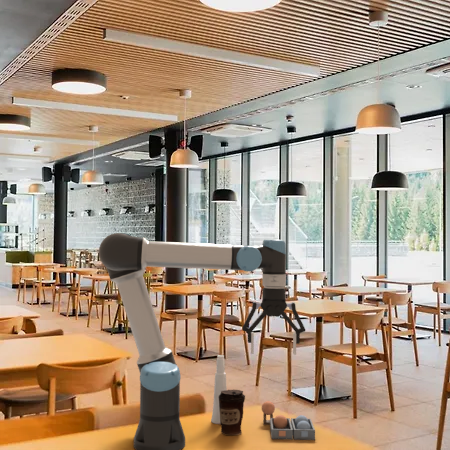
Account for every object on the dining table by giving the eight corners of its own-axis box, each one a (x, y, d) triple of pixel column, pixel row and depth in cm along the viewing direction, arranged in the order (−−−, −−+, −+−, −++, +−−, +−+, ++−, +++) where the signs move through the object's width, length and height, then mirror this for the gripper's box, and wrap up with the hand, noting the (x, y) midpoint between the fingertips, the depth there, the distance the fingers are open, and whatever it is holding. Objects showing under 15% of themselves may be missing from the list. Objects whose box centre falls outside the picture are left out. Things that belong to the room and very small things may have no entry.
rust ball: (273, 431, 194) (273, 417, 194) (273, 426, 198) (273, 413, 198) (287, 431, 194) (287, 417, 194) (286, 427, 198) (286, 413, 198)
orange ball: (261, 416, 201) (261, 403, 201) (261, 412, 206) (261, 399, 206) (275, 416, 201) (275, 403, 201) (274, 413, 206) (274, 399, 206)
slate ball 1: (295, 431, 194) (295, 417, 194) (294, 427, 198) (294, 413, 198) (309, 431, 193) (309, 417, 193) (307, 427, 198) (307, 413, 198)
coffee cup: (242, 438, 188) (242, 395, 188) (215, 436, 189) (215, 394, 190) (246, 429, 196) (247, 388, 197) (221, 427, 198) (221, 387, 198)
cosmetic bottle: (232, 421, 205) (233, 355, 206) (220, 425, 201) (221, 357, 201) (219, 417, 209) (219, 353, 210) (207, 421, 205) (207, 355, 205)
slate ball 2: (297, 437, 188) (297, 423, 188) (295, 433, 192) (295, 418, 192) (311, 437, 187) (311, 423, 188) (309, 433, 192) (309, 419, 192)
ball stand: (263, 424, 202) (263, 415, 202) (263, 421, 205) (263, 412, 205) (273, 424, 202) (273, 415, 202) (272, 421, 205) (272, 412, 205)
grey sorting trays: (271, 439, 187) (271, 429, 187) (269, 427, 199) (270, 418, 199) (315, 440, 186) (315, 430, 186) (310, 427, 199) (310, 418, 199)
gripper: (235, 287, 194) (234, 354, 194) (314, 288, 193) (313, 356, 193) (235, 285, 202) (234, 350, 201) (311, 287, 201) (311, 351, 200)
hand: (273, 353), depth 197 cm, fingers open, 13 cm apart
